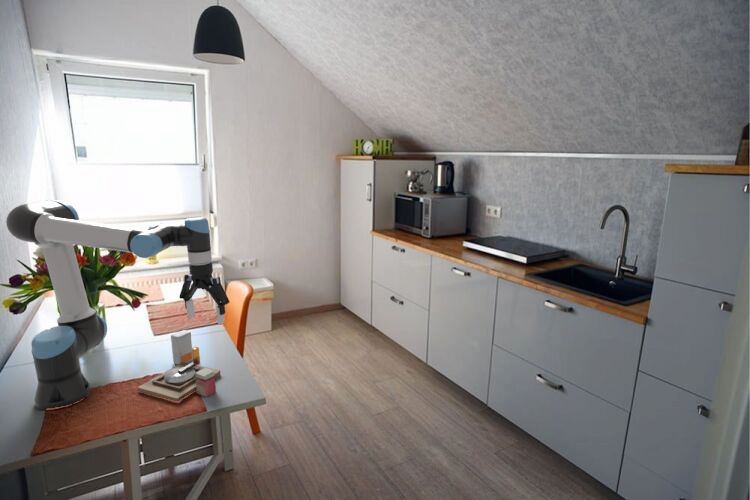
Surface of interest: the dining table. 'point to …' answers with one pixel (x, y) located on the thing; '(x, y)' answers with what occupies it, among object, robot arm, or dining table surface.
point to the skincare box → (181, 347)
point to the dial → (183, 371)
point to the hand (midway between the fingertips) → (206, 320)
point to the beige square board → (172, 391)
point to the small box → (205, 382)
